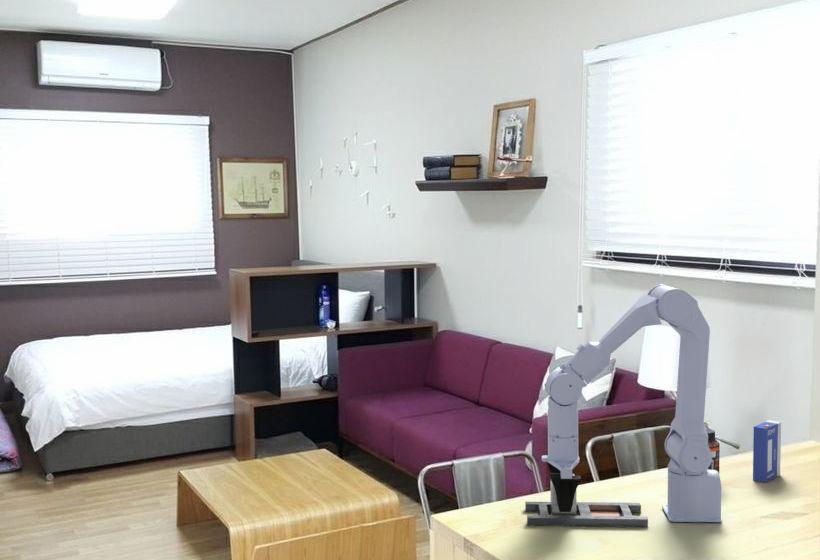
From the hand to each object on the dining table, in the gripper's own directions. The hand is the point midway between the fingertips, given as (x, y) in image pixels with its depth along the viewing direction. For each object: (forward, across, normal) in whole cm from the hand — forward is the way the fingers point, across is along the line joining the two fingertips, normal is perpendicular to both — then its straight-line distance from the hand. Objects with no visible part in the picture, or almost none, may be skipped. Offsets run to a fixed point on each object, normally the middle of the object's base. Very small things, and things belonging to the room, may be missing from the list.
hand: (563, 504), depth 166 cm
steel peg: (+3, 0, 0) cm, 3 cm away
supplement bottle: (+3, -22, +32) cm, 39 cm away
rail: (+3, 0, +4) cm, 5 cm away
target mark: (+3, 0, +8) cm, 8 cm away
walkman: (+3, -26, +46) cm, 52 cm away
